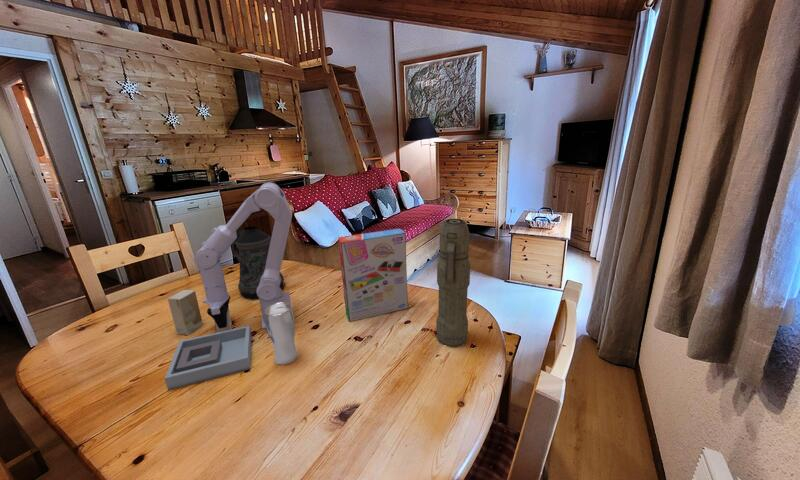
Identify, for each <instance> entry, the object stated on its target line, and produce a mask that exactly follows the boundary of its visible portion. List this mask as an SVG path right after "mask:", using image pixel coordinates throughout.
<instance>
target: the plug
mask: <svg viewBox="0 0 800 480" xmlns="http://www.w3.org/2000/svg"><path fill="white" fill-rule="evenodd" d="M222 307H225V306H222ZM214 324H215V325H214V326H215V329H216V333H217V332H222V331H226V330H231V329H232V325H233V322H232V317H231V314H230V309H229V308H228V311H227V327H224V328H219V327H218V326H217V324H216V322H215V321H214Z"/></svg>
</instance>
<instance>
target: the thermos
mask: <svg viewBox="0 0 800 480" xmlns="http://www.w3.org/2000/svg"><path fill="white" fill-rule="evenodd" d="M469 249H470V231H469V227H468V222H467V221H466V220H464V219H460V218H448V219H446V220H444V221H443V222H442V224H441V227H440V230H439V256H438V257H439V258H438V261H437V264H436V283H437V285H438V304H437V305H438V306H437V307H438V311H437V312H438V313H437V314H438V315H437V317H436V324H435V325H436V327H435V328H436V329H435V330H436V339H438V340H437V342H439V344H441V345H442V346H444V345H446V346H445V347H448V346H450V347H449V348H458V346H459V347H462V346H464V345H465V344H466V343H467V341H468V333H469V319H468V316H467V314H468V313H467V312H468V289H469V286H470V284H471V283H470V281H471V280H470V279H471V263H470V260H469V253H468V252H469ZM463 344H464V345H463ZM461 345H462V346H461Z"/></svg>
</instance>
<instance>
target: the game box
mask: <svg viewBox="0 0 800 480" xmlns="http://www.w3.org/2000/svg"><path fill="white" fill-rule="evenodd" d="M337 239H338V241H337V242H338V250H339V258H340V259H339V261H340V268H341V276H342V277H341V278H342V279H341V280H342V287H343V289H342V290H343V297H344V307H345V315H346V317H347V321H348V323H349V322H355V321H357V320H358V321H359V320H362V319H367V318H372V317H376V316H380V315H384V314H389V313H393V312H397V311H402V310H406V309H409V296H408V295H409V294H408V293H409V292H408V275H407V271H408V270H407V245H406V244H407V243H406V242H407V240H406V239H407V237H406V232H405V231H404V230H403V229H401V228H394V229H387V230H380V231H374V232H372V231H371V232H365V233H360V234H358V233H357V234H353V235H344V236H338V238H337Z"/></svg>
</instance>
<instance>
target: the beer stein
mask: <svg viewBox="0 0 800 480" xmlns="http://www.w3.org/2000/svg"><path fill="white" fill-rule="evenodd" d="M236 235H237V238H236V239H235V240H234V242H233V243H232V244H231V248H232V252H233V254H234V256H235V258H236V260H237V261H238V263H239V282H238V286H237V287H238V291H239V293H240V295H241V297H243V299H246V300H252V301H253V300H259V297H258V296H257V293H256V291H257V287H258V286H259V283H260V279H261V276H262V275H263V274H264V271H265V266H266V261H267V256H268V252H269V247H270V242H271V237H272V236H271V235H269V234H267V232H264V231H261V230H260V229H259V228H258V227H257V226H247V227H243V230H237V231H236ZM280 277H281V283H280V286H279V287H280V288H281V289H282V291H283V290H284V288H285V287H284V286H285V285H284V284H285V278H284V275H283V274H282V273H281V272H280Z"/></svg>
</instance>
